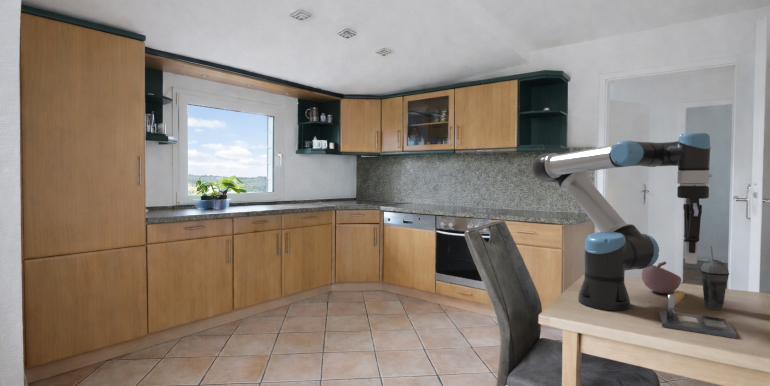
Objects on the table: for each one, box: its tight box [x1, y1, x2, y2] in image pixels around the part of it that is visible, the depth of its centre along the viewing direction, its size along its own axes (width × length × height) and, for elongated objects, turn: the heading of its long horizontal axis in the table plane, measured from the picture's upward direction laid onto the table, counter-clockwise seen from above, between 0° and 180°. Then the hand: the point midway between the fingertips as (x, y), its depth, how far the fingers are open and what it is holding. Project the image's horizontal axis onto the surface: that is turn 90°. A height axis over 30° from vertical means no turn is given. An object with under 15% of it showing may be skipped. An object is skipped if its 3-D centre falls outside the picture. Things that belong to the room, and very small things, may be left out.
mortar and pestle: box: [641, 261, 682, 294], centre depth 146 cm, size 12×12×11 cm
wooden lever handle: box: [672, 290, 685, 306], centre depth 122 cm, size 12×2×2 cm, turn 134°
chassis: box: [657, 293, 738, 339], centre depth 114 cm, size 16×13×8 cm
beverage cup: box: [699, 245, 730, 311], centre depth 129 cm, size 7×7×20 cm
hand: (690, 263), depth 121 cm, fingers closed
